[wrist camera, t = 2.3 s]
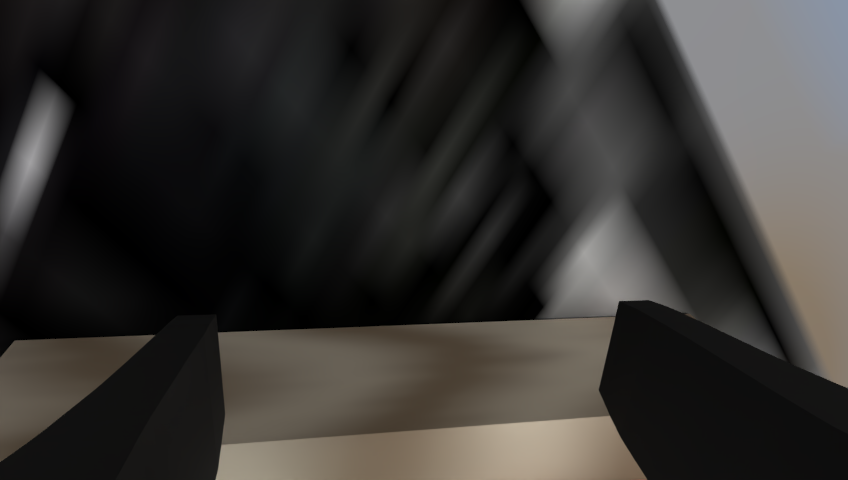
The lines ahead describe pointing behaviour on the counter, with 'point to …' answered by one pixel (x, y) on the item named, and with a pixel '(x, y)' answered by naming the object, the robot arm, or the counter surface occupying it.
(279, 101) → the counter surface
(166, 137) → the counter surface
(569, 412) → the birch plate
